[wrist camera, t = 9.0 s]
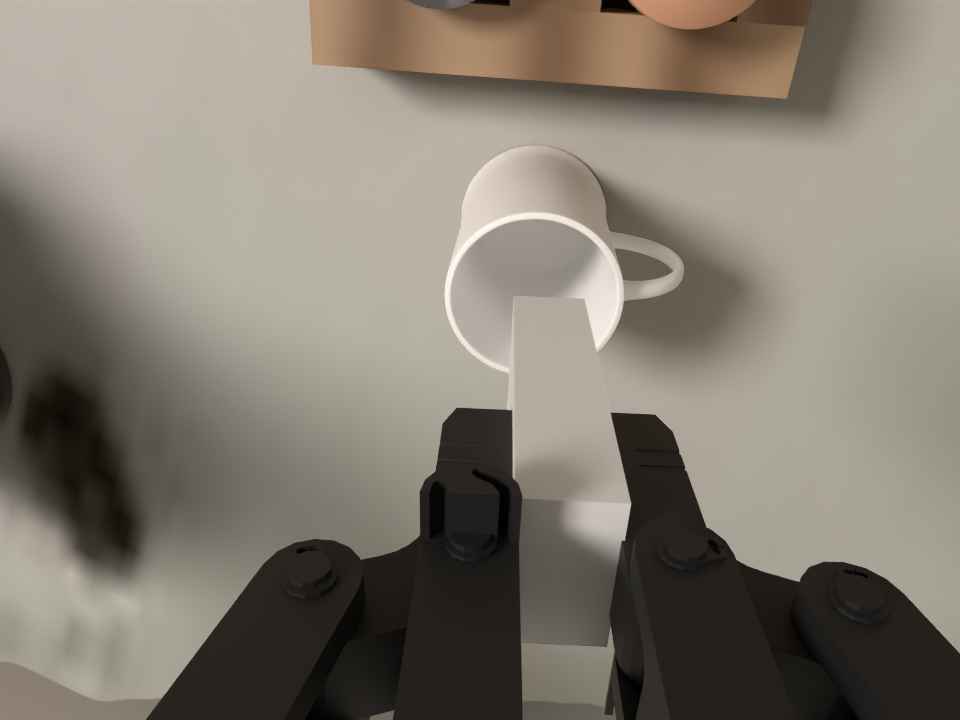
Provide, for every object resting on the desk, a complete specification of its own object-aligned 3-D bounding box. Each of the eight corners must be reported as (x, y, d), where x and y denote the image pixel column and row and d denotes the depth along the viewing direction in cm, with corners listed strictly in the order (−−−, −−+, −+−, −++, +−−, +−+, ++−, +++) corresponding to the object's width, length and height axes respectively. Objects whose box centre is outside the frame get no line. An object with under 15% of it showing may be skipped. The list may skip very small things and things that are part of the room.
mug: (677, 165, 40) (728, 234, 30) (640, 301, 44) (674, 404, 34) (471, 134, 40) (449, 192, 30) (454, 273, 44) (430, 368, 34)
